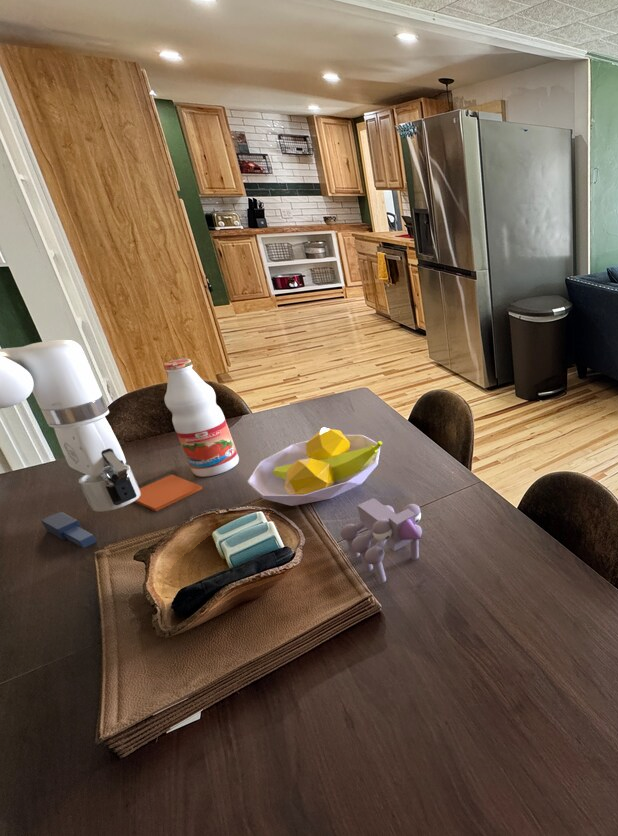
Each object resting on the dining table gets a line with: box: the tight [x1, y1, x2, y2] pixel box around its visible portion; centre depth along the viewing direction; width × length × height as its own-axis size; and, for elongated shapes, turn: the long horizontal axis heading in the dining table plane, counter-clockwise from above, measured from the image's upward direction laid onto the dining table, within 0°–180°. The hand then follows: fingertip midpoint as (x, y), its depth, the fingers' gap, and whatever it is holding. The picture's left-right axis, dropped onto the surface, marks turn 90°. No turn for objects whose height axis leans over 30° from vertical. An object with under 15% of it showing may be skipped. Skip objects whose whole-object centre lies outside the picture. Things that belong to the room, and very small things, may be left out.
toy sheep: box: [339, 497, 423, 585], centre depth 84 cm, size 20×11×14 cm, turn 53°
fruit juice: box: [163, 358, 240, 478], centre depth 112 cm, size 9×9×28 cm
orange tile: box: [133, 474, 203, 512], centre depth 107 cm, size 9×12×1 cm
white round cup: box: [78, 463, 141, 513], centre depth 89 cm, size 7×7×6 cm
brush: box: [40, 511, 98, 549], centre depth 94 cm, size 3×14×3 cm, turn 66°
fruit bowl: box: [246, 427, 384, 507], centre depth 109 cm, size 28×27×11 cm
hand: (114, 495), depth 89 cm, fingers closed on white round cup, 6 cm apart
